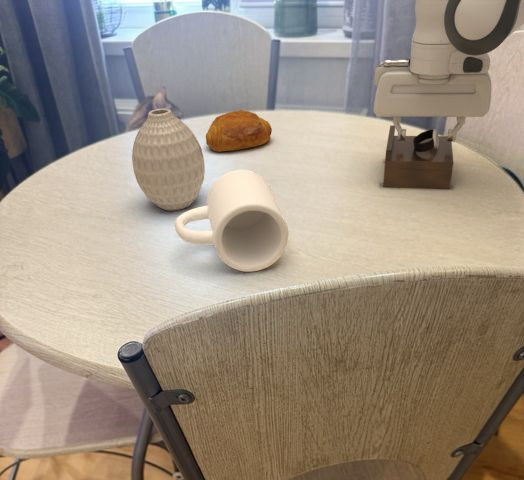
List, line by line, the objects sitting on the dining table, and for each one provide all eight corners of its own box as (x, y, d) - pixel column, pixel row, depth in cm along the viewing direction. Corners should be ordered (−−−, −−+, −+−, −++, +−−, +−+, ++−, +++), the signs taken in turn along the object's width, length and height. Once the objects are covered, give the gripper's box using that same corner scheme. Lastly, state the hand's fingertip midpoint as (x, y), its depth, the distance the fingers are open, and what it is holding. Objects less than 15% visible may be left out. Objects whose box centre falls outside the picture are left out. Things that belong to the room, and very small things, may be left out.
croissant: (275, 157, 123) (279, 121, 118) (208, 157, 119) (209, 120, 114) (261, 136, 133) (264, 102, 128) (199, 136, 130) (200, 101, 125)
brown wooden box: (447, 161, 109) (452, 125, 104) (449, 189, 98) (455, 150, 94) (387, 159, 111) (390, 125, 107) (383, 186, 101) (386, 149, 97)
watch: (434, 156, 98) (437, 135, 96) (409, 154, 100) (411, 134, 97) (441, 142, 103) (443, 122, 101) (416, 140, 105) (418, 121, 103)
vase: (127, 210, 100) (105, 117, 90) (173, 185, 108) (157, 97, 98) (179, 224, 94) (161, 127, 84) (222, 197, 102) (212, 105, 92)
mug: (274, 227, 91) (270, 164, 84) (290, 267, 81) (287, 199, 74) (179, 240, 90) (167, 177, 83) (182, 282, 79) (169, 214, 72)
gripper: (373, 64, 92) (368, 145, 101) (500, 61, 87) (483, 146, 96) (376, 55, 96) (371, 134, 105) (496, 53, 92) (481, 135, 101)
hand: (425, 140), depth 101 cm, fingers open, 8 cm apart
